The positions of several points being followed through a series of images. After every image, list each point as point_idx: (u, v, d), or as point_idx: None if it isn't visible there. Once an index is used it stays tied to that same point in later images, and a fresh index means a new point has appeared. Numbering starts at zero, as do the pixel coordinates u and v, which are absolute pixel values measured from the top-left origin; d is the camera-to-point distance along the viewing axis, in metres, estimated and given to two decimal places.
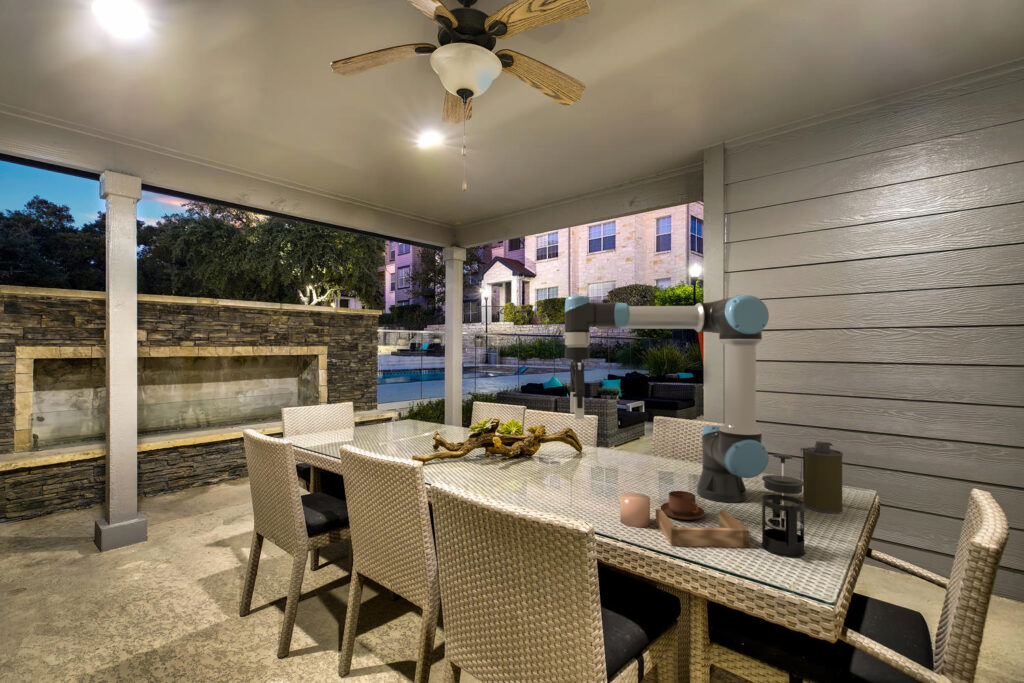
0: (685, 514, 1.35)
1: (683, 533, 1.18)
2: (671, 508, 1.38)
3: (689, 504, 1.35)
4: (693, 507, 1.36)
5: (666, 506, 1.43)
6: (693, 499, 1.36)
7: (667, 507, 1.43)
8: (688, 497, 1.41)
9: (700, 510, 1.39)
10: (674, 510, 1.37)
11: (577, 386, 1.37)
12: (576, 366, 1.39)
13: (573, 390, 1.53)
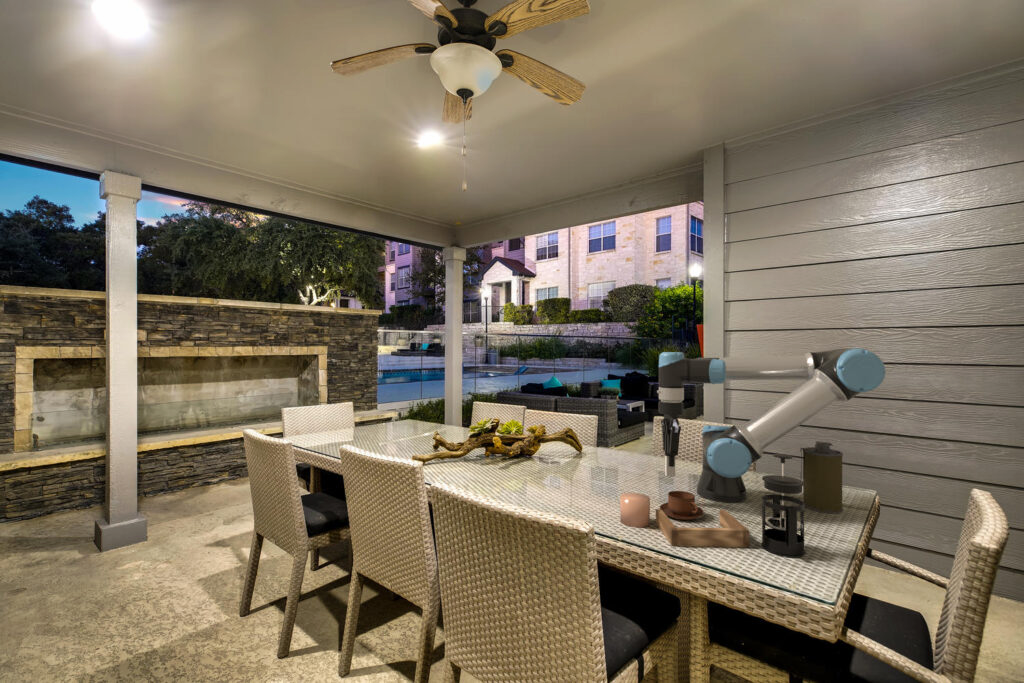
0: (684, 514, 1.35)
1: (683, 533, 1.18)
2: (670, 508, 1.38)
3: (688, 504, 1.35)
4: (692, 507, 1.36)
5: (665, 506, 1.43)
6: (692, 499, 1.36)
7: (666, 507, 1.43)
8: (687, 497, 1.41)
9: (699, 510, 1.39)
10: (673, 510, 1.37)
11: (671, 448, 1.45)
12: (673, 430, 1.44)
13: None
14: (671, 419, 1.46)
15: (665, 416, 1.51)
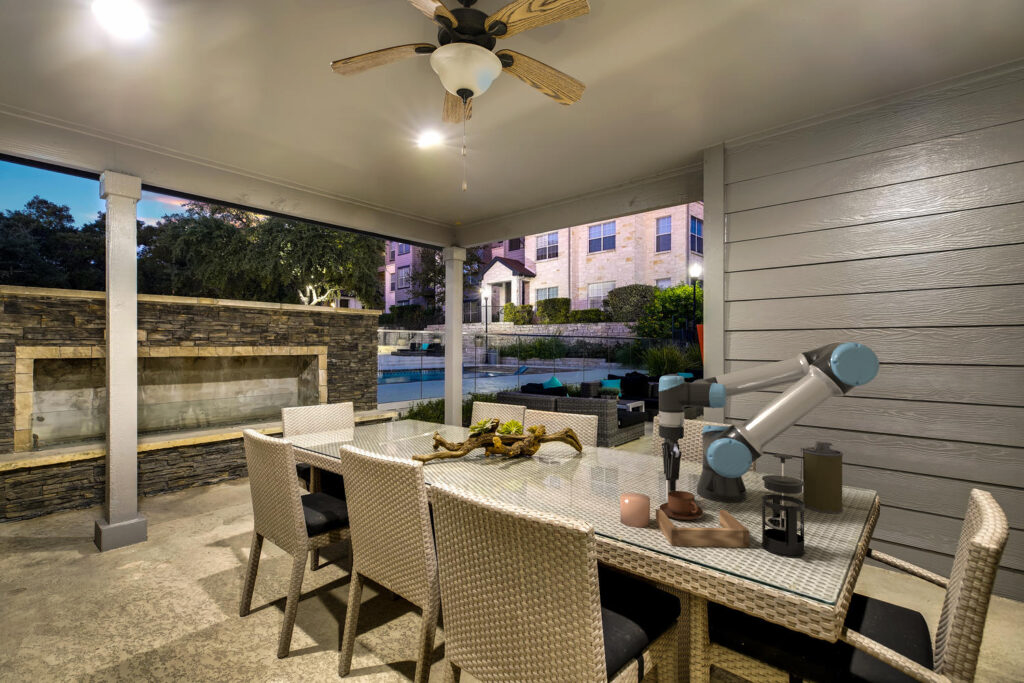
0: (684, 514, 1.35)
1: (683, 533, 1.18)
2: (670, 508, 1.38)
3: (688, 504, 1.35)
4: (692, 507, 1.36)
5: (665, 506, 1.43)
6: (692, 499, 1.36)
7: (666, 507, 1.43)
8: (687, 497, 1.41)
9: (699, 510, 1.39)
10: (673, 510, 1.37)
11: (672, 473, 1.45)
12: (674, 455, 1.43)
13: None
14: (672, 444, 1.46)
15: (666, 440, 1.51)
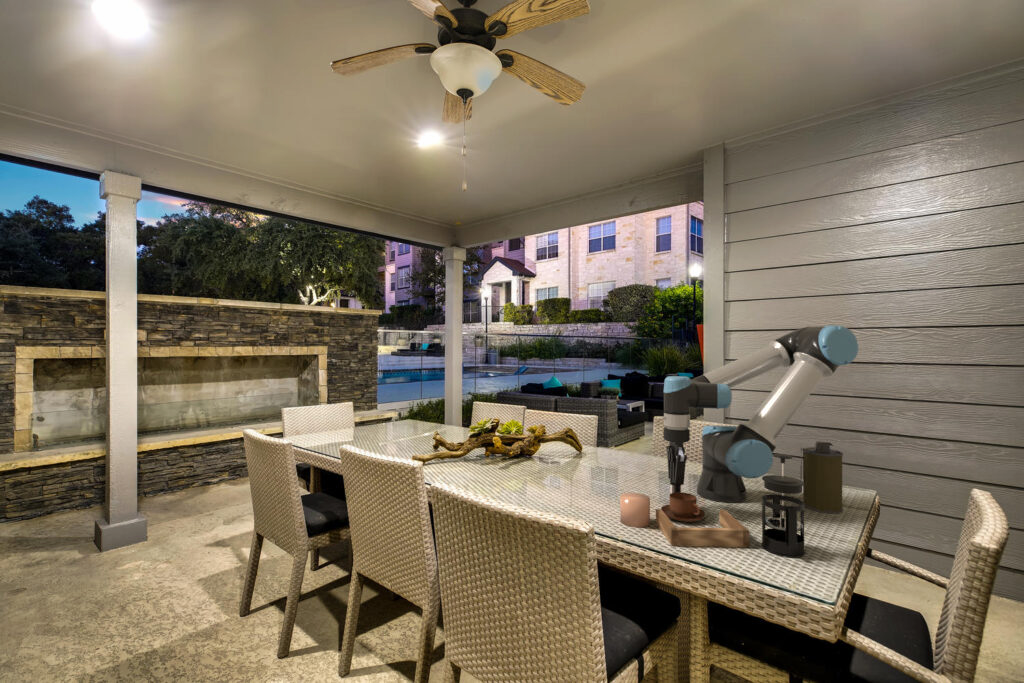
0: (686, 516, 1.33)
1: (683, 533, 1.18)
2: (672, 510, 1.36)
3: (690, 506, 1.33)
4: (694, 509, 1.34)
5: (667, 508, 1.41)
6: (694, 501, 1.34)
7: (668, 509, 1.41)
8: (689, 499, 1.39)
9: (701, 512, 1.37)
10: (675, 512, 1.35)
11: (677, 477, 1.40)
12: (679, 459, 1.38)
13: None
14: (677, 447, 1.40)
15: (670, 443, 1.46)
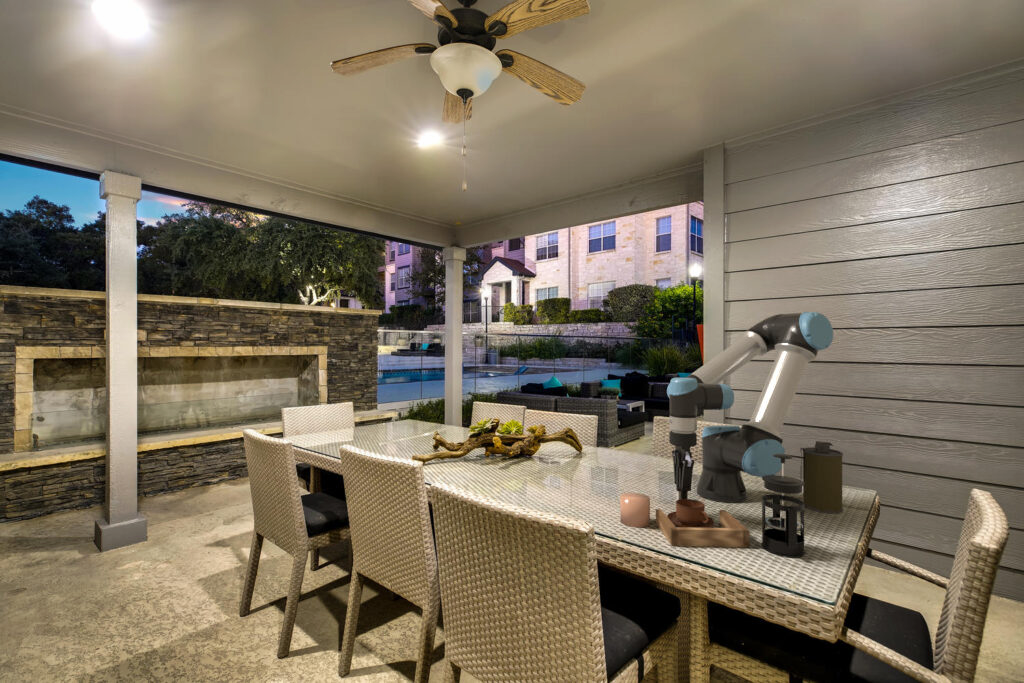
0: (694, 524, 1.27)
1: (683, 533, 1.18)
2: (679, 518, 1.30)
3: (698, 513, 1.27)
4: (702, 516, 1.28)
5: (673, 515, 1.35)
6: (702, 508, 1.28)
7: (674, 516, 1.35)
8: (696, 506, 1.33)
9: (709, 519, 1.31)
10: (682, 520, 1.29)
11: (683, 483, 1.34)
12: (686, 464, 1.32)
13: None
14: (683, 452, 1.34)
15: (677, 447, 1.40)
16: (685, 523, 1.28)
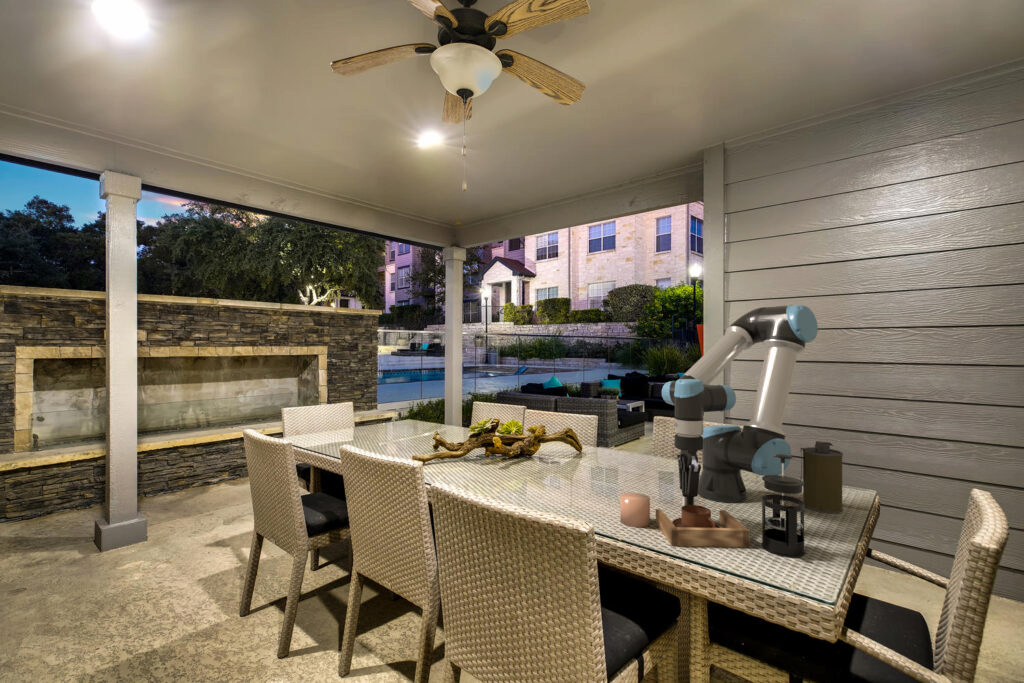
0: None
1: (683, 533, 1.18)
2: (684, 524, 1.25)
3: (704, 520, 1.23)
4: (709, 523, 1.24)
5: (678, 522, 1.30)
6: (709, 515, 1.24)
7: (679, 523, 1.30)
8: (702, 512, 1.28)
9: (716, 526, 1.27)
10: None
11: (690, 489, 1.29)
12: (692, 469, 1.27)
13: None
14: (689, 456, 1.29)
15: (682, 451, 1.35)
16: None
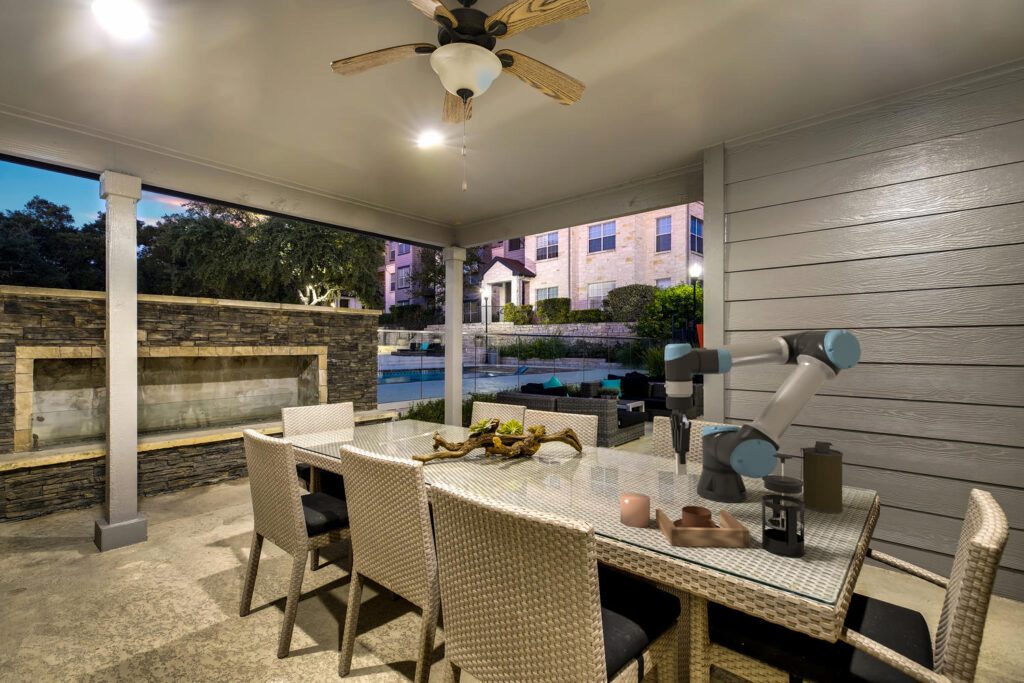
0: None
1: (683, 533, 1.18)
2: (685, 526, 1.24)
3: (705, 521, 1.22)
4: (709, 524, 1.23)
5: (678, 523, 1.30)
6: (709, 516, 1.23)
7: (679, 524, 1.30)
8: (703, 513, 1.28)
9: (716, 527, 1.26)
10: None
11: (682, 445, 1.38)
12: (683, 426, 1.36)
13: None
14: (680, 414, 1.38)
15: (673, 411, 1.44)
16: None
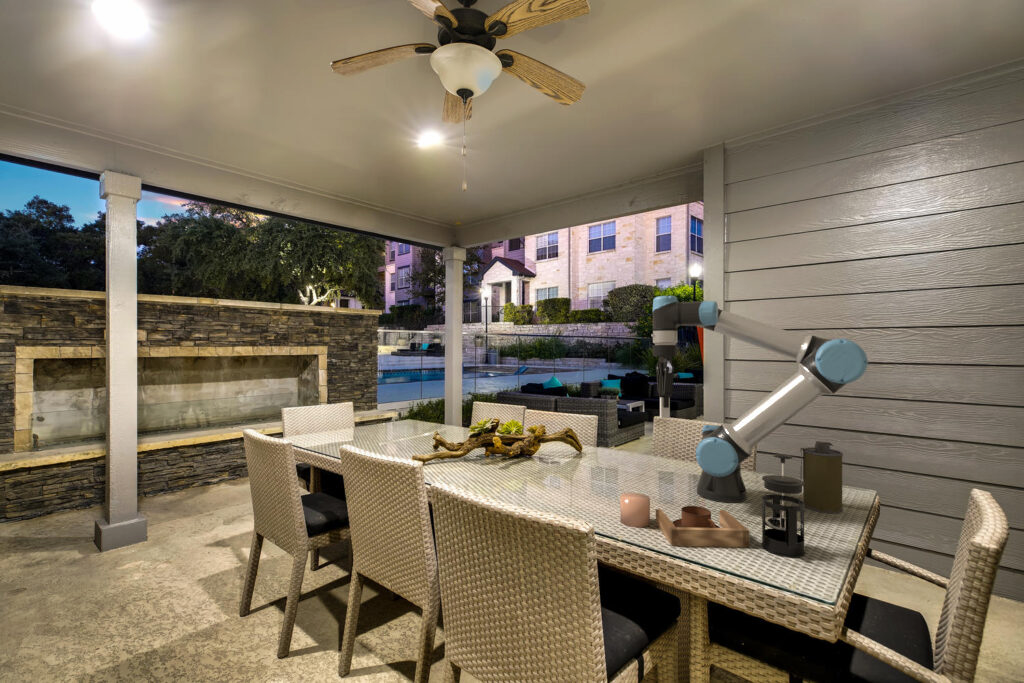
0: None
1: (683, 533, 1.18)
2: (684, 526, 1.24)
3: (704, 521, 1.22)
4: (709, 524, 1.23)
5: (678, 523, 1.30)
6: (709, 516, 1.23)
7: (679, 524, 1.30)
8: (702, 513, 1.28)
9: (716, 527, 1.26)
10: None
11: (665, 388, 1.49)
12: (667, 370, 1.47)
13: None
14: (665, 360, 1.49)
15: (659, 360, 1.55)
16: None
